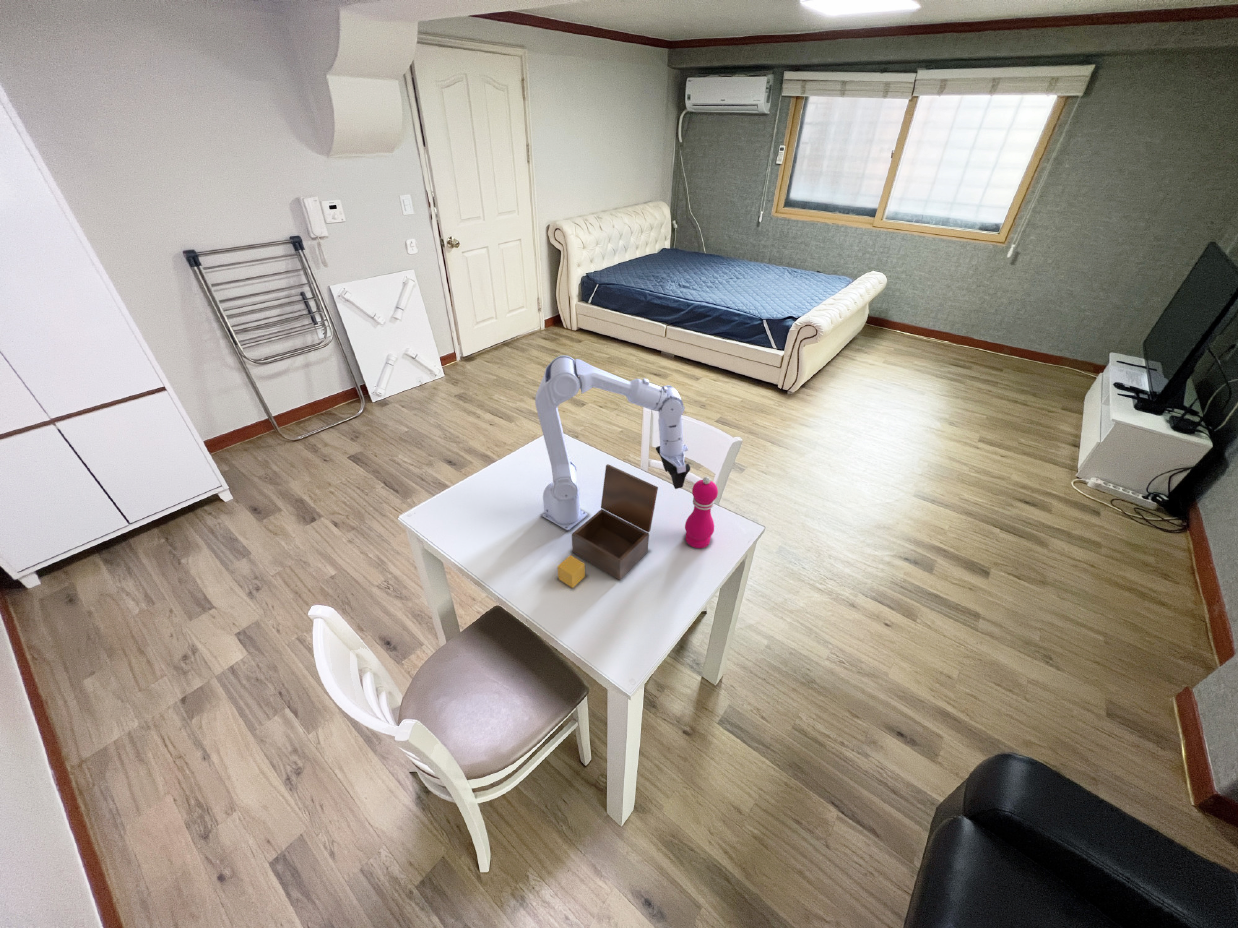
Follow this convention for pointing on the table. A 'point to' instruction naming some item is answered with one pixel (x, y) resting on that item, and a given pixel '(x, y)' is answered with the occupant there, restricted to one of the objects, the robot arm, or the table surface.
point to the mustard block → (571, 571)
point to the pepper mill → (701, 514)
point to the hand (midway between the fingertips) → (673, 478)
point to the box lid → (629, 497)
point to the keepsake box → (610, 543)
